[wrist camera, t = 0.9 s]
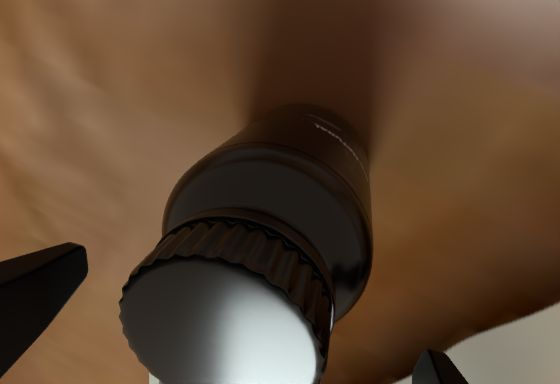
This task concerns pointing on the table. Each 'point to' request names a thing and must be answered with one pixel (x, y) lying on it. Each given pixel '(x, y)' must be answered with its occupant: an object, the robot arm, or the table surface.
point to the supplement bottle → (256, 256)
